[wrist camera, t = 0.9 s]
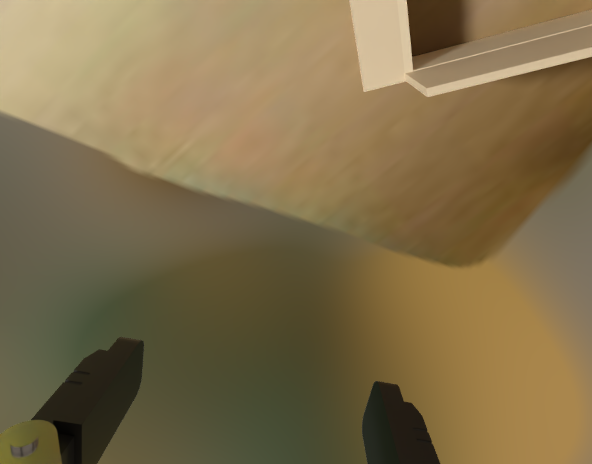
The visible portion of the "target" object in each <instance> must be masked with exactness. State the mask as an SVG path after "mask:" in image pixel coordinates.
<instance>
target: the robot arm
mask: <svg viewBox="0 0 592 464" xmlns="http://www.w3.org/2000/svg"><path fill="white" fill-rule="evenodd" d="M143 352H144V342H143V341H142V340H136V339H131V338H125V337H119V338H118V339H117V340H116V342H115V343H114V344H113V345H112V347H111V348H110V349H109V350H108V351H105V350H98V351H96V352H94V353H93V354H91V355H89V356H88V357H86V358H84V359H83V360H82V362H81V363H80V364H79V365H78V366H77V367H76V369H75V370H74V372H73V373H71V374H70V375H69V377H68V378H67V379H66V381H65V383H63V384H62V385H61V386H60V387H59V388H58V389H57V391H56V392H55V393H54V394H53V395H52V396H51V397H50V399H49V400H48V401H47V402H46V403H45V404H44V406H43V407H42V408H41V409H40V410H39V411H38V412H37V414H36V415H35V416H34V417H33V418H32V419H31V420H30V421H25V422H22V423H19V424H17V425H14V426H12V427H10V428H8V429H7V430H5V431H4V432H3V433H1V434H0V464H97V463H98V461H99V460H100V458H101V456H102V454H103V453H104V451H105V449H106V447H107V446H108V444H109V442H110V440H111V439H112V437H113V435H114V434H115V432H116V430H117V428H118V427H119V425H120V423H121V421H122V420H123V418H124V416H125V414H126V413H127V411H128V409H129V408H130V406H131V404H132V402H133V401H134V399H135V397H136V395H137V393H138V390H139V387H140V383H141V379H142V367H143ZM362 434H363V440H364V446H365V452H366V457H367V462H368V464H440V462H439V459H438V457H437V454H436V452H435V449H434V446H433V444H432V441H431V438H430V435H429V433H428V432H427V428H426V425H425V422H424V420H423V417H422V415H421V414H420V413H419V411H418V410H417V409H416V408H415V407H414V405H413V404H412V403H408V402H404V401H403V398H402V395H401V392H400V389H399V386H398V385H396V384H390V383H384V382H378V381H376V382H374V384H373V387H372V390H371V394H370V397H369V400H368V403H367V406H366V410H365V412H364V416H363V422H362Z"/></svg>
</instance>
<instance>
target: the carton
mask: <svg viewBox="0 0 592 464" xmlns="http://www.w3.org/2000/svg"><path fill="white" fill-rule="evenodd" d="M349 2H350V8H351V15H352V21H353V27H354V34H355V40H356V46H357V53H358V59H359V65H360V72H361V78H362V84H363V91H364V92H366V91H370V90H374V89H378V88H382V87H386V86H390V85H394V84H398V83H402V82H408V83H409V84H410V85H412V86H413V87H414V88H416V89H417V90H419V91H420V92H421V93H423V94H424V95H425V96H427V97H430V96H434V95H438V94H442V93H446V92H450V91H454V90H458V89H463V88H467V87H471V86H475V85H479V84H483V83H487V82H491V81H495V80H499V79H503V78H507V77H511V76H515V75H519V74H523V73H527V72H531V71H536V70H540V69H544V68H548V67H552V66H556V65H560V64H564V63H568V62H572V61H576V60H580V59H584V58H588V57H592V9H591V10H588V11H584V12H580V13H576V14H573V15H569V16H565V17H561V18H557V19H554V20H550V21H546V22H542V23H539V24H535V25H531V26H527V27H523V28H520V29H516V30H512V31H508V32H505V33H501V34H497V35H493V36H489V37H486V38H482V39H478V40H474V41H470V42H467V43H463V44H459V45H455V46H452V47H448V48H444V49H440V50H436V51H433V52H429V53H425V54H421V55H418V56H414V57H412V53H411V42H410V32H409V21H408V10H407V0H349Z"/></svg>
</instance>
